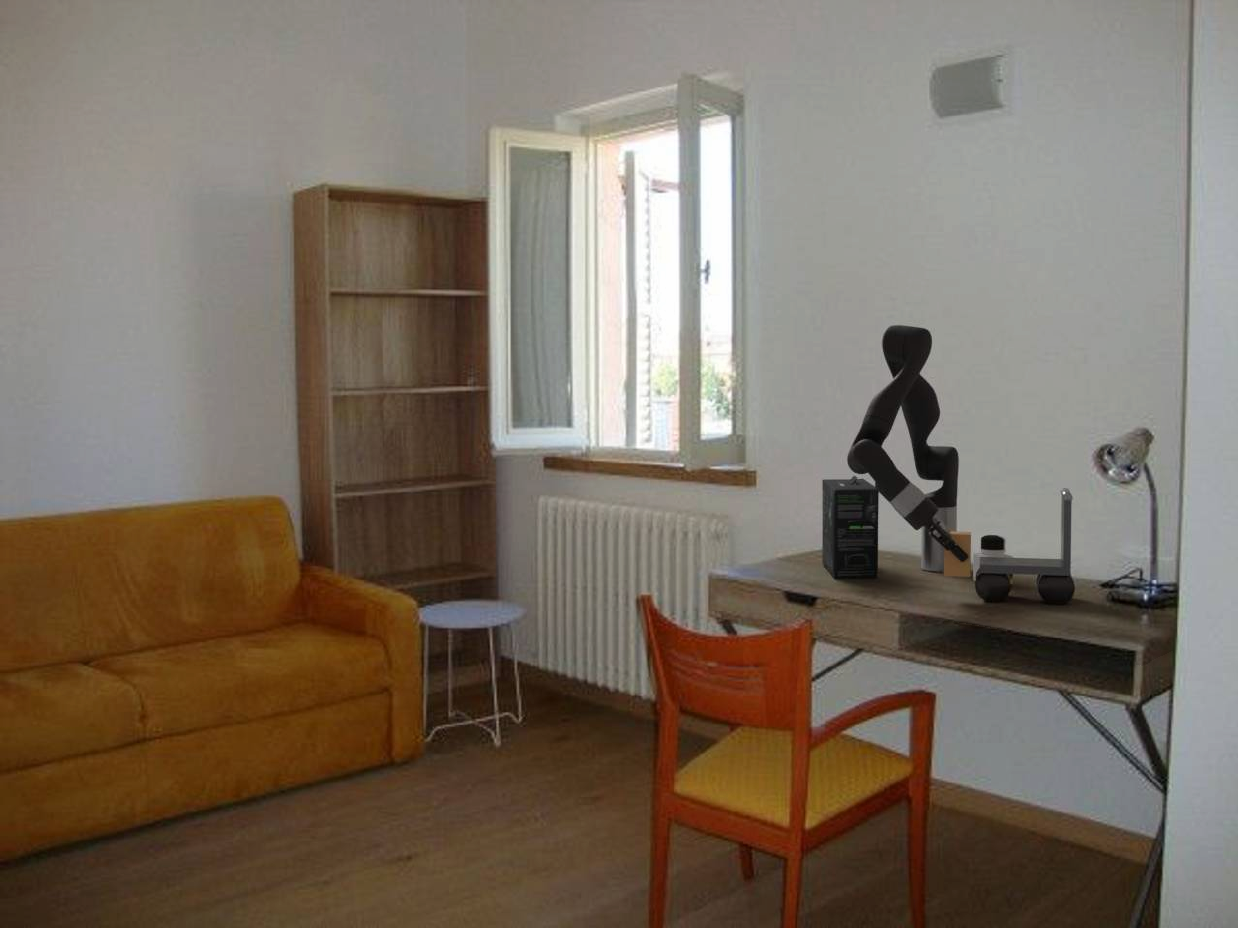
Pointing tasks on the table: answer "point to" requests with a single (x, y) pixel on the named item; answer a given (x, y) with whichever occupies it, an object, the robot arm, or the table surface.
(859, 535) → the headset box
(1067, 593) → the trolley
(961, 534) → the light orange block
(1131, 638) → the table surface
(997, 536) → the medicine bottle
